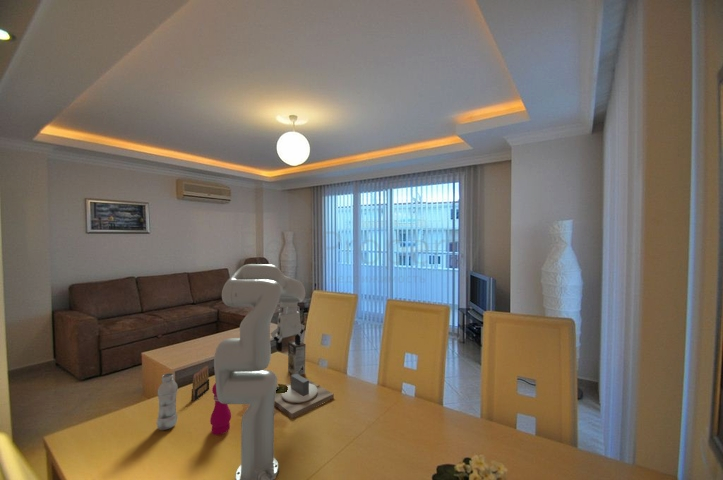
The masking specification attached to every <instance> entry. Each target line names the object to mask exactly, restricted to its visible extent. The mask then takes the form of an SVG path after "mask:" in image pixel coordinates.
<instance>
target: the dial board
mask: <svg viewBox="0 0 723 480" xmlns="http://www.w3.org/2000/svg"><path fill="white" fill-rule="evenodd" d="M304 378H305V379H307V380H309V383H310V384H313V385H315V386H316V387H317V395H316V396H315V397H314V398H313V399H311V400H309V401H306V402H300V403H292V402H288V401H285V400H284V399H283V398H282V393H280V394H276V395H275V403H274V407H275V408H278V409H279V410H280V411H282V413H284V414H285V415H287V416H288V417H289V418H290V419H294V418H297V417H298V416H301V415H302V414H304V413H307V412H309V411H311V410H313V409H314V408H317V407H319V406H321V405H323V404H325V403H326V401H327V402H329V401H331V400H333V399H334V393H333V392H330V391H329V390H327V389H326V388H324V387H322V386H320V384H317V383H315V382H313V381H311V380H310V379H308V378H306V377H304ZM289 385H291V383H289V384H285V386H289ZM332 398H333V399H332ZM330 399H331V400H330ZM328 400H329V401H328ZM324 402H325V403H324ZM322 403H323V404H322ZM320 404H321V405H320ZM318 405H319V406H318ZM316 406H317V407H316Z"/></svg>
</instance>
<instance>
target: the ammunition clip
mask: <svg viewBox="0 0 723 480" xmlns="http://www.w3.org/2000/svg"><path fill="white" fill-rule="evenodd" d="M209 390H210V378H209V367H208V365H205V366H203V368H201V369H199V370H198V371H197V372H196V373H194V374H193V378H192V389H191V398H190V399H191V400H190V401H191V402H196V401H197V400H198V399H199V398H201V397H202V396H203V395H204V394H206V393H207V392H208V391H209Z"/></svg>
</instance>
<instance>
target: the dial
mask: <svg viewBox="0 0 723 480" xmlns="http://www.w3.org/2000/svg"><path fill="white" fill-rule="evenodd" d="M305 378H306V377H304V376H302V375H298V374H297V373H296V374H294V375H293V374H291V375H290V384H291V385H289V384H288V385H289V386H287V387H288V390H287V392H285V393H282V398H283V399H284V400H285V401H288V402H292V403H300V402H306V401H309V400H311V399H313V398H314V397H315V396H316V395H317V387H316V386H315V385H313V384H310V383H309V380H310V379H308V378H306V379H305ZM307 379H308V380H307Z"/></svg>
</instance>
